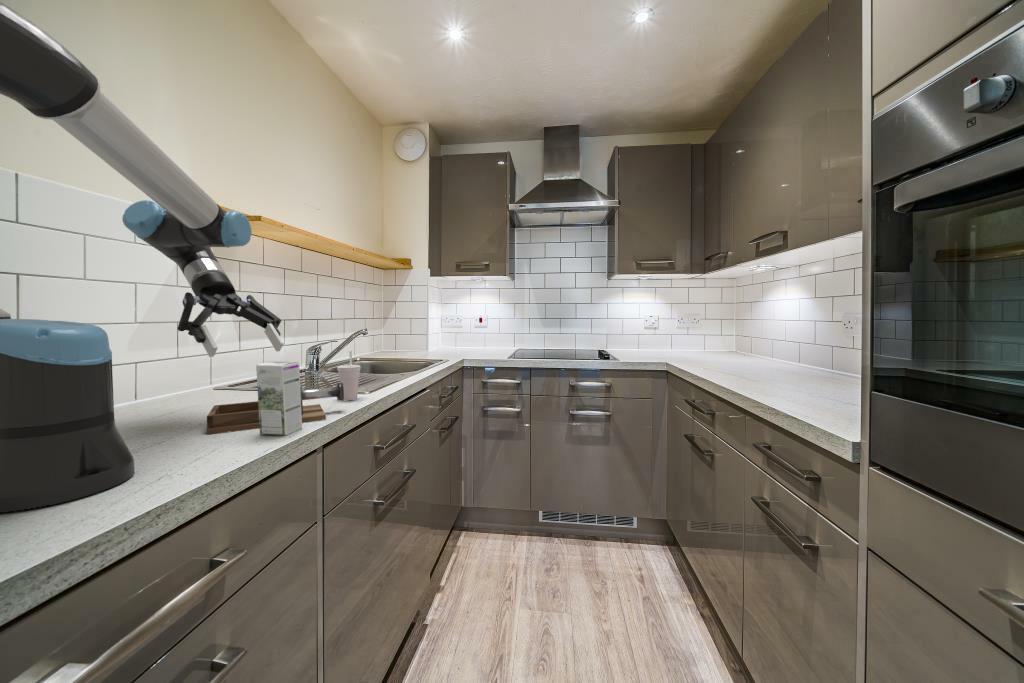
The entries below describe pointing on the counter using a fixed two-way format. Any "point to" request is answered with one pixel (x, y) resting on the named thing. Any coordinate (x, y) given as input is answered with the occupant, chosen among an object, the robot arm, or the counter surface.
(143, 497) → the counter surface
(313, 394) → the shaft
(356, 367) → the smoothie
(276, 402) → the syrup box
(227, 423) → the jig
